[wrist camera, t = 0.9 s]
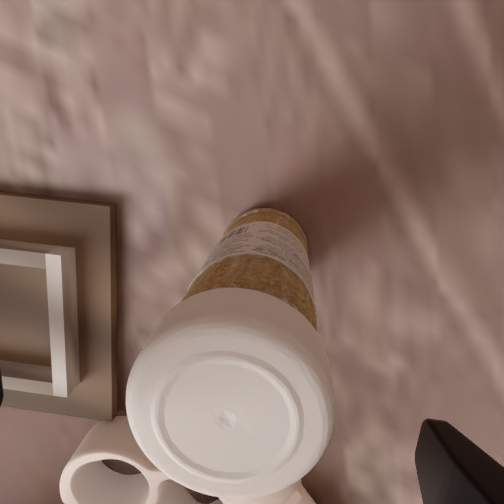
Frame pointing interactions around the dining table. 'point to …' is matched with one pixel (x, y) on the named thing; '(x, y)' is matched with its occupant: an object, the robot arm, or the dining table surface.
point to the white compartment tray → (137, 475)
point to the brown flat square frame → (58, 305)
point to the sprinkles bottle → (238, 369)
